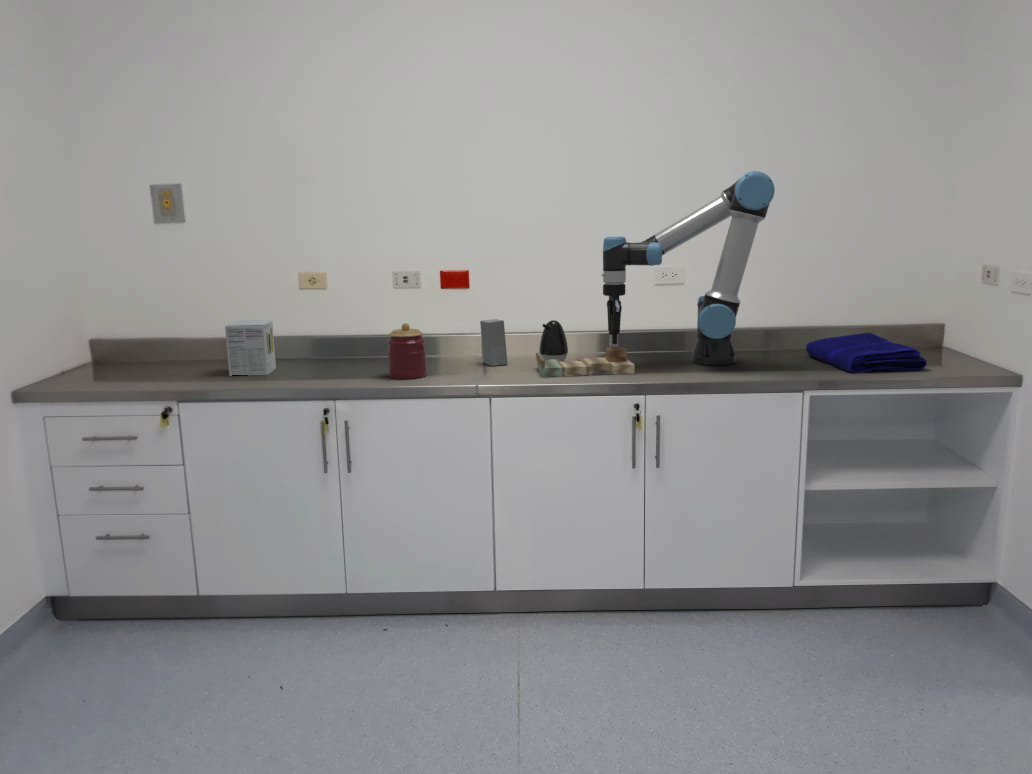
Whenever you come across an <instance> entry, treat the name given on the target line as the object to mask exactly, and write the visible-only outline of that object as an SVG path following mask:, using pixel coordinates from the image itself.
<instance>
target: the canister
mask: <svg viewBox="0 0 1032 774" xmlns="http://www.w3.org/2000/svg"><path fill="white" fill-rule="evenodd" d="M423 335H424V332H422V331H420V329H418V328H411V326H410V324H409V323H406V322H405V323H402V325H401V328H398V329H397V328H396V329H394V330H392V331H391V332H389V333H388V337H389V339H386V344H387V346H388V347H387V349H388V350H387V351H386V354H387V365H388V367H387V368H388V369H387V371H388V372H387V373H388V377H389V378H391V379H397V380H410V379H411V380H412V379H419V378H424V377H425V376H427V375H428V365H427V349H426V347H425V346H426V345H425V344H426V342H427V339H426V338H424V337H423Z"/></svg>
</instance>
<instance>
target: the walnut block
mask: <svg viewBox="0 0 1032 774" xmlns="http://www.w3.org/2000/svg"><path fill="white" fill-rule="evenodd" d="M605 357H606V360H607V361H608V362H627V360H628V349H627V348H625V347H623V346H618V347H610V346H609V347H605Z"/></svg>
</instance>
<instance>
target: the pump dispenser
mask: <svg viewBox="0 0 1032 774" xmlns="http://www.w3.org/2000/svg"><path fill="white" fill-rule="evenodd" d="M541 326H542V327H543V330H542V334H541V338H540V342H539V351H538V353H539V354H540V355H541V356H542V357H543V359H544V360H550V359H558V360H559V361H560V362H564V361H565V360H566V359H567V355H568V354H569V345H568V341H567V337H566V333H565V330H564V327H563V326H562V324H561V323H560V322H559V321H558V320H555V319H554V320H553V319H552V320H549V321H548V322H547V323H546V324H545V323H543V324H542V325H541Z"/></svg>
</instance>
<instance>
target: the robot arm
mask: <svg viewBox="0 0 1032 774" xmlns="http://www.w3.org/2000/svg"><path fill="white" fill-rule="evenodd" d="M775 190H776V189H775V184H774V181H773V180H772V179H771V177H770V175H768V174H767V173H764V172H762V171H760V170H759V171H758V170H757V171H756V170H753V171H748V172H745V174H743V175H742V176H740V177H739V179H737V180H736V181H735V182H734V183H733V184H732V185H730V186H729V187H727V188H726V189H724V190H722V191H721V193H720V196H718V197H717V198H715V199H714V200H711V201H709V202H708V203H706V204H705V205H703V206H701V207H699V208H698V209H696V210H694V211H692V212H691V213H690V214H687V215H686V216H684V217H682V218H680V219H679V220H677V221H676V222H673V223H672V224H671V225H669V226H667V227H665V228H664V229H662V230H660V231H659V232H656V233H655V234H654V235H651V236H649V237H648V238H646V239H645V240H643V241H641V242H628V241H627V238H626V237H625V236H607V237H605V238H603V245H602V273H601V274H600V275H601V277H602V282H603V283H604V284H603V285H602V295H603V296H604V297H606V296H607V297H608V300H607V302H606V310H607V312H606V313H607V331H608V335H609V347H619V334H620V333H621V331H620V330H621V321H622V320H621V318H622V308H623V307H622V301H621V300H620V297H621V296H625V295H626V284H625V283H626V280H627V279H626V277H627V275H626V274H627V273H626V267H627V266H660V265H662V262H663V256H664V255H666V254H667V253H670V252H671V251H673V250H674V249H676V248H677V247H680V246H681V245H683V244H685V243H687V242H688V241H690V240H691V239H693V238H695V237H698V236H699V235H700V234H702V233H704V232H706V231H707V230H709V229H711V228H713V227H714V226H716V225H718V224H719V223H721V222H723V221H725V220H727V219H728V218H730V217H731V219H730V224H729V227H728V229H727V233H726V236H725V240H724V243H723V248H722V251H721V254H720V257H719V262H718V265H717V268H716V272H715V276H714V279H713V282H712V285H711V289H710V290H708V291H706V292H705V293H704V295H701V296H699V297H698V299H697V305H696V306H697V323H696V324H697V327H696V331H697V332H696V334H697V335H696V341H695V345H694V347H693V349H692V353H691V359H690V361H691V362H692V363H694V364H698V365H706V366H708V365H709V366H727V365H732V364H735V363H736V362H737V355H736V352H735V349H734V348H735V347H734V344H733V342H732V333H733V331H734V329H735V327H736V324H737V323H736V322H737V315H738V312H739V309H740V304H741V300H740V299H739V295H738V294H739V291H740V287H741V284H742V280H743V278H744V274H745V272H746V268H747V265H748V261H749V257H750V254H751V251H752V247H753V244H754V241H755V237H756V233H757V231H758V227H759V224H760V223H761V222H763V221H764V220H765V219H766V217H767V213H768V211H769V207H770V203H771V202H772V200H773V199H774V196H775Z"/></svg>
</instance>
